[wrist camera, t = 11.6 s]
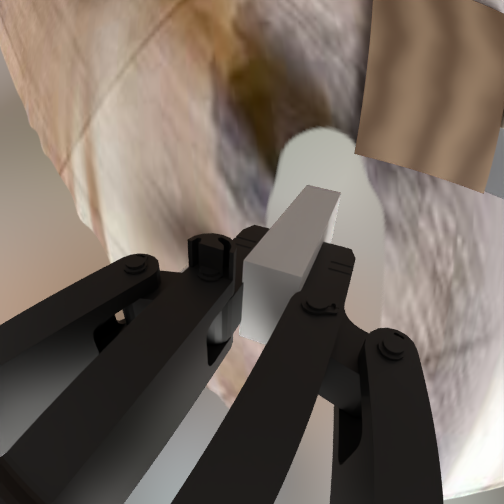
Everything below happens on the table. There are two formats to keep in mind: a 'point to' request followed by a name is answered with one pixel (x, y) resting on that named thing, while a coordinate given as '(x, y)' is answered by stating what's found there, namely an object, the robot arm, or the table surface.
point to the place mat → (497, 169)
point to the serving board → (434, 88)
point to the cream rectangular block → (502, 121)
